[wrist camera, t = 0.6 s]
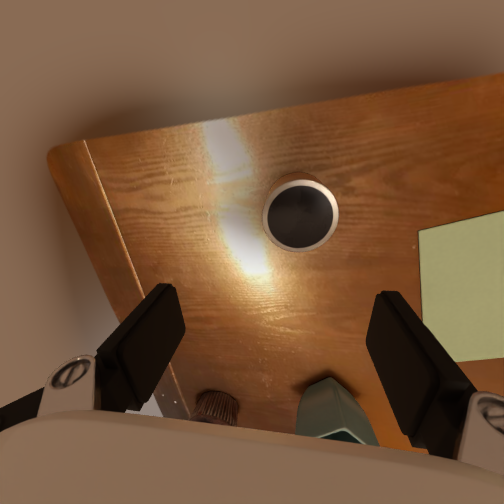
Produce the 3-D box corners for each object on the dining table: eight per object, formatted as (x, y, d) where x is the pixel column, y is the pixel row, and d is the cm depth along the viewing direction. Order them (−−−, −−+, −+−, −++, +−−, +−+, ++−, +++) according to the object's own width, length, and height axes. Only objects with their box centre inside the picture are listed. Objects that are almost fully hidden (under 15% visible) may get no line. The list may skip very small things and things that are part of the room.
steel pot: (258, 184, 24) (251, 194, 19) (320, 162, 22) (331, 167, 17) (276, 237, 27) (274, 260, 21) (332, 222, 25) (345, 242, 20)
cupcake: (187, 398, 45) (163, 460, 36) (216, 381, 41) (197, 446, 32) (221, 421, 47) (206, 485, 38) (252, 407, 43) (243, 474, 34)
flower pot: (290, 384, 38) (292, 446, 30) (331, 364, 35) (345, 428, 27) (323, 409, 40) (332, 474, 32) (364, 392, 37) (387, 460, 29)
